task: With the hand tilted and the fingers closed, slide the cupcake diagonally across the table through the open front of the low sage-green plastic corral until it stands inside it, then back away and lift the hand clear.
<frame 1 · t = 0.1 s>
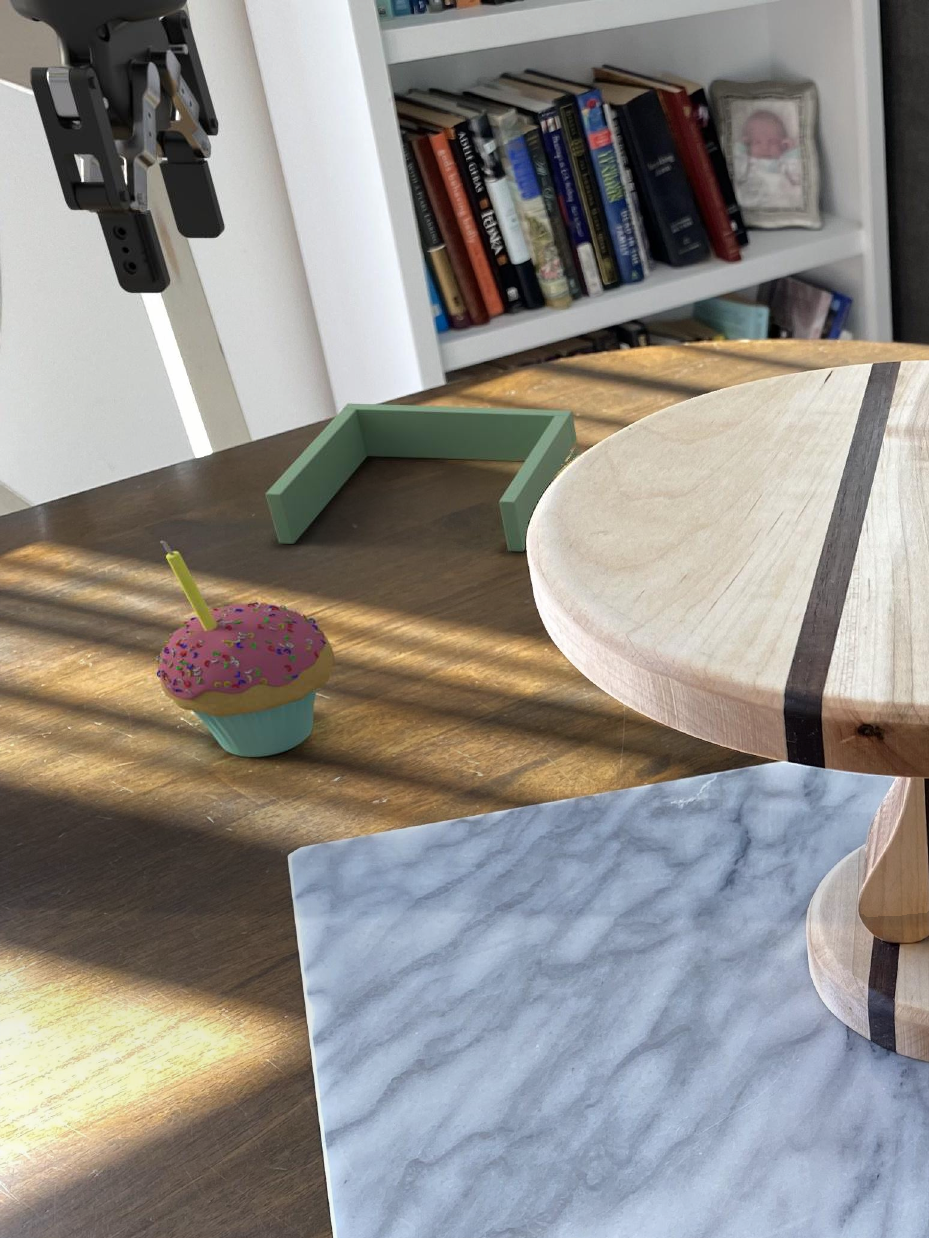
hand: (176, 262, 86), 22 cm above the table, tool pointing down, fingers open, 8 cm apart
corral: (434, 501, 115), on the table
cupcake: (268, 736, 92), on the table
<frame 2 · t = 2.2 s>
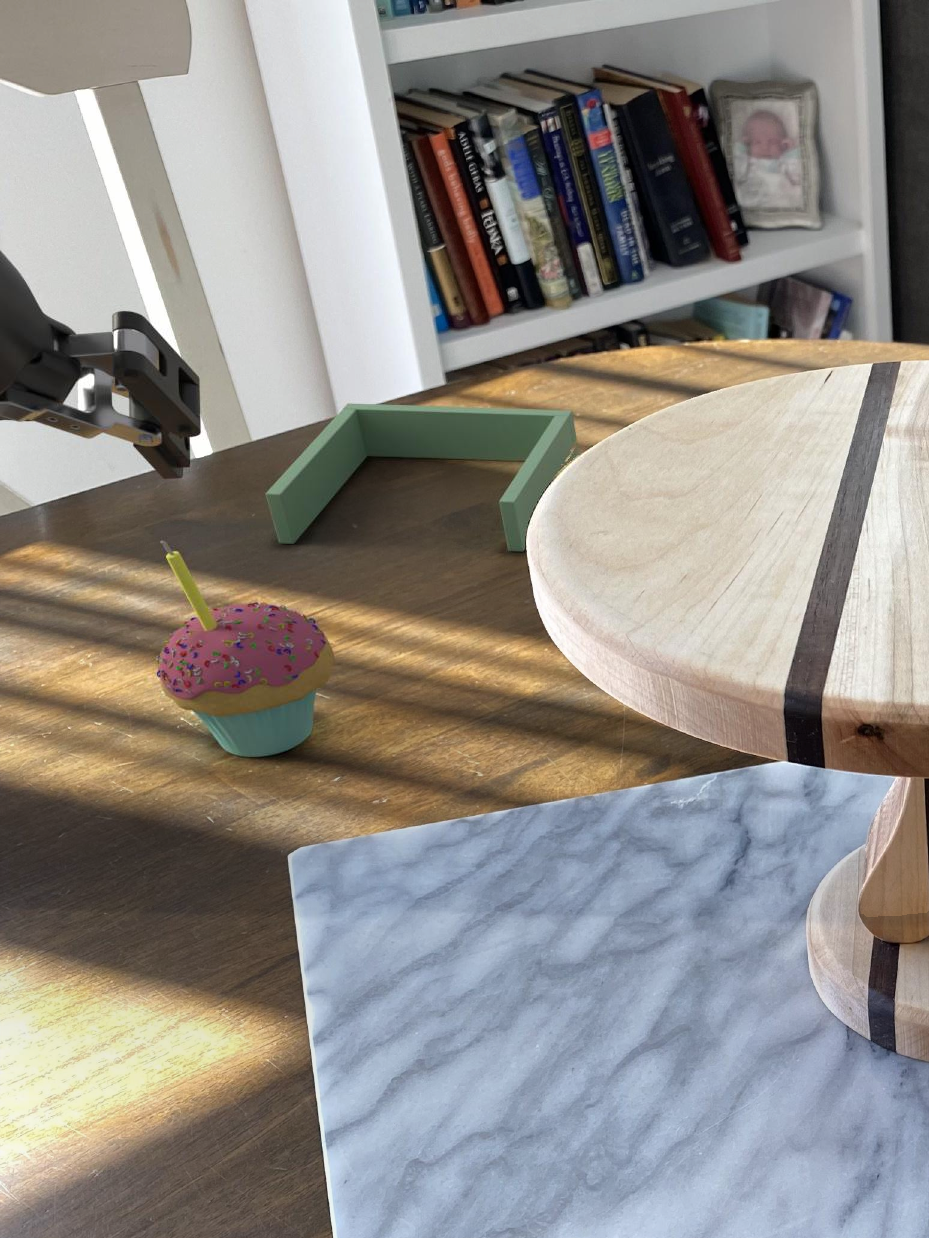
hand: (73, 464, 74), 19 cm above the table, tool tilted 40°, fingers open, 8 cm apart
nothing on the table moved.
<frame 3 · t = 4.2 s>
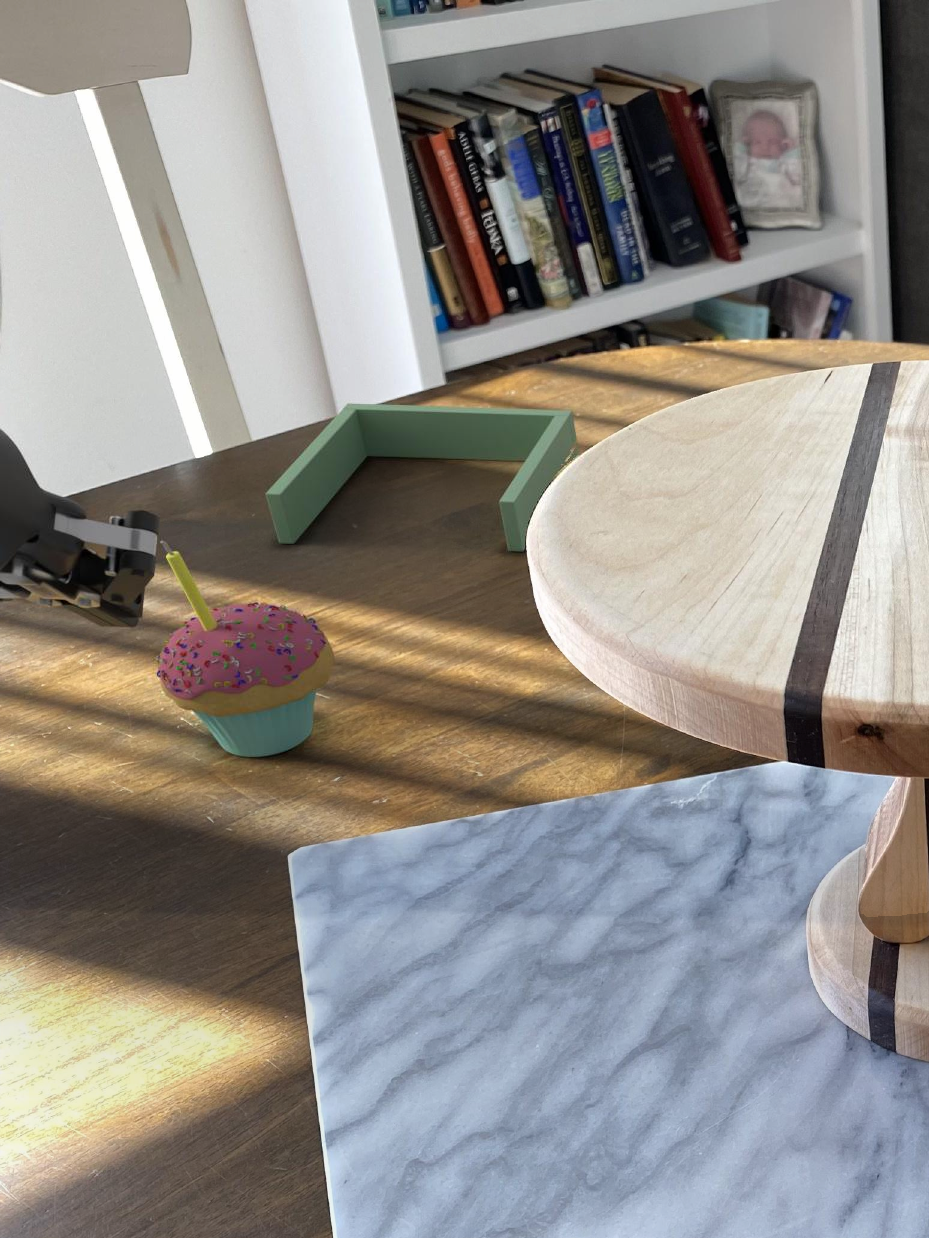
hand: (123, 606, 77), 13 cm above the table, tool tilted 45°, fingers closed
nothing on the table moved.
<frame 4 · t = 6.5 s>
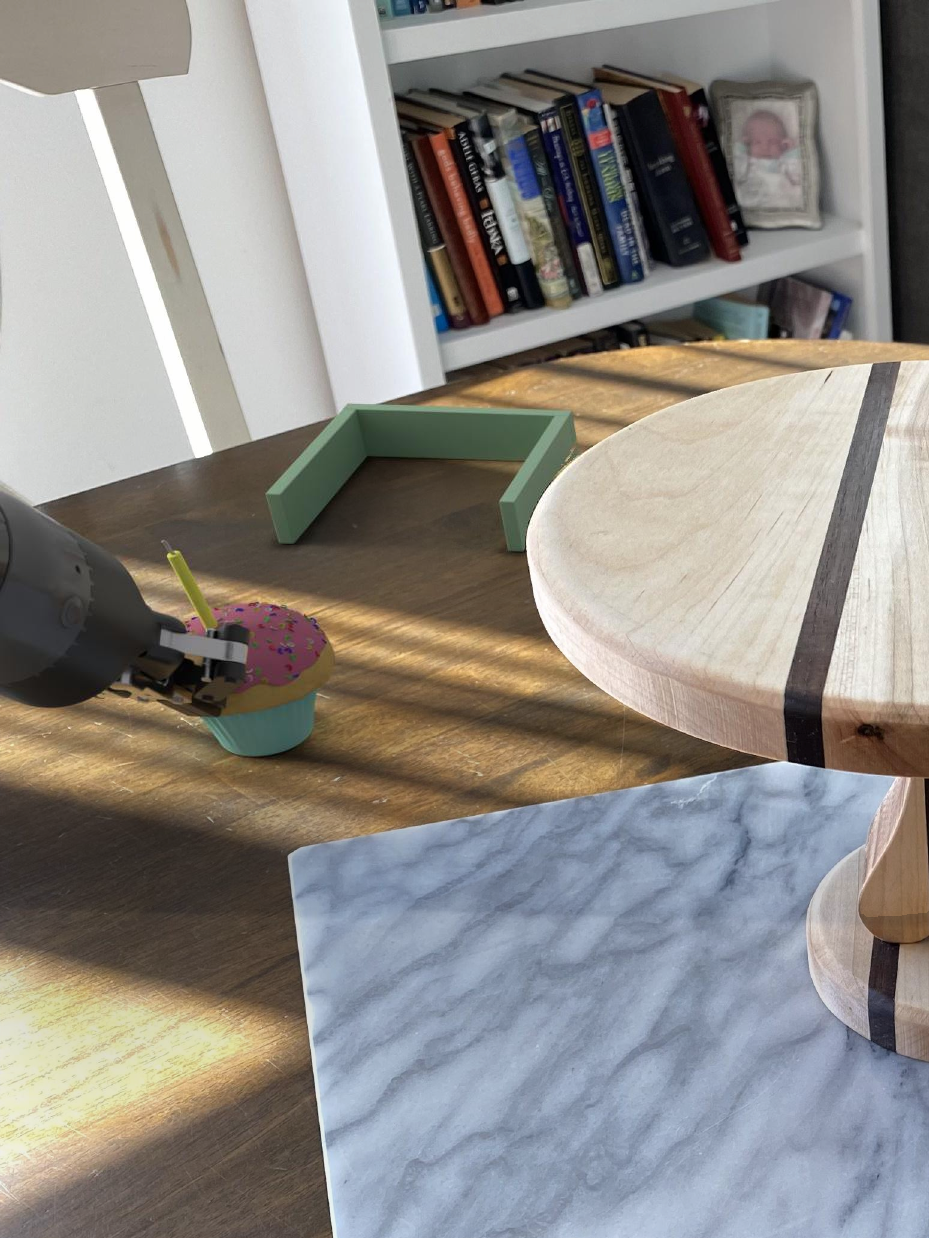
hand: (208, 697, 85), 5 cm above the table, tool tilted 45°, fingers closed
cupcake: (269, 735, 92), on the table, touching gripper
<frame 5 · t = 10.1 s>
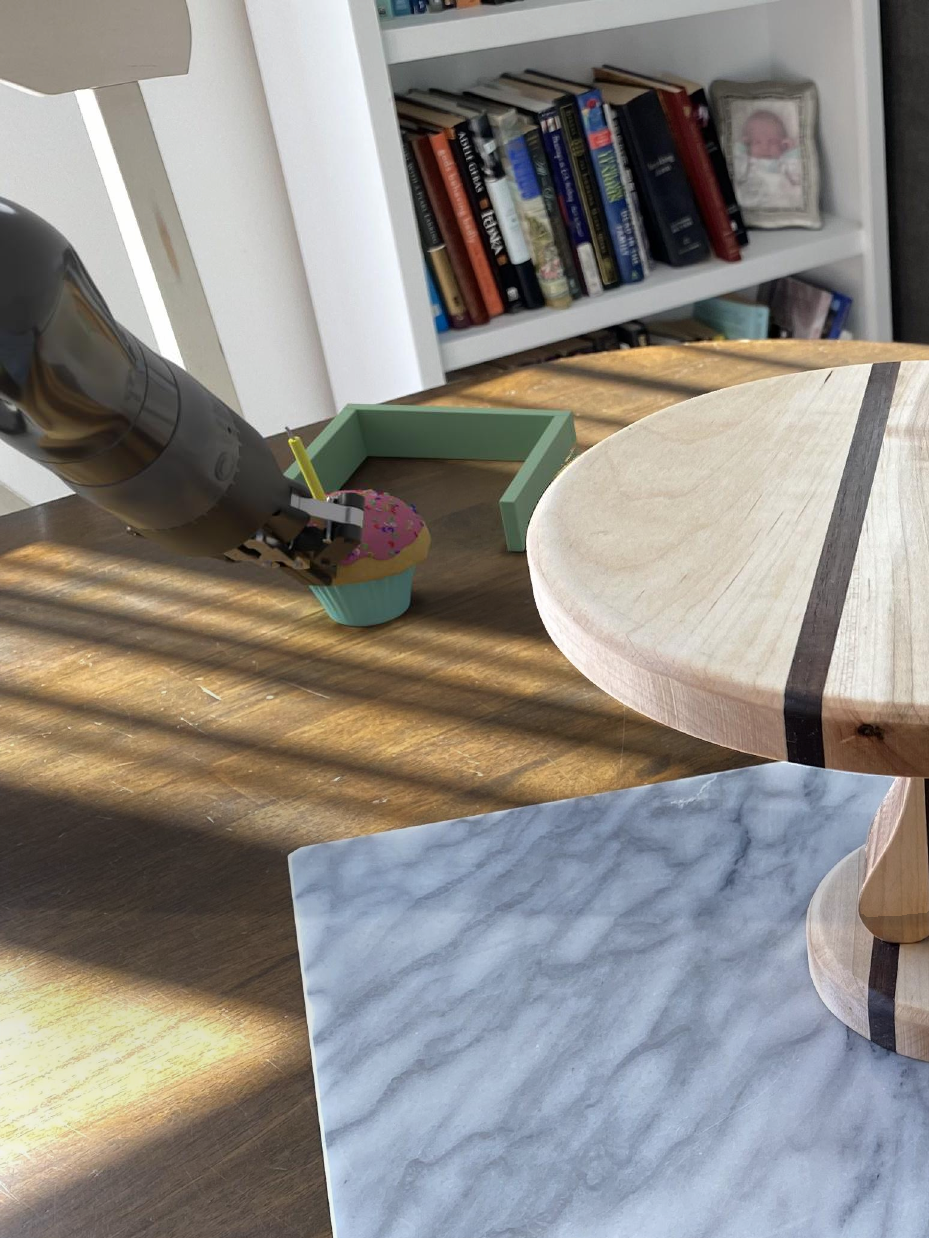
hand: (320, 569, 96), 5 cm above the table, tool tilted 45°, fingers closed
cupcake: (370, 610, 103), on the table, touching gripper
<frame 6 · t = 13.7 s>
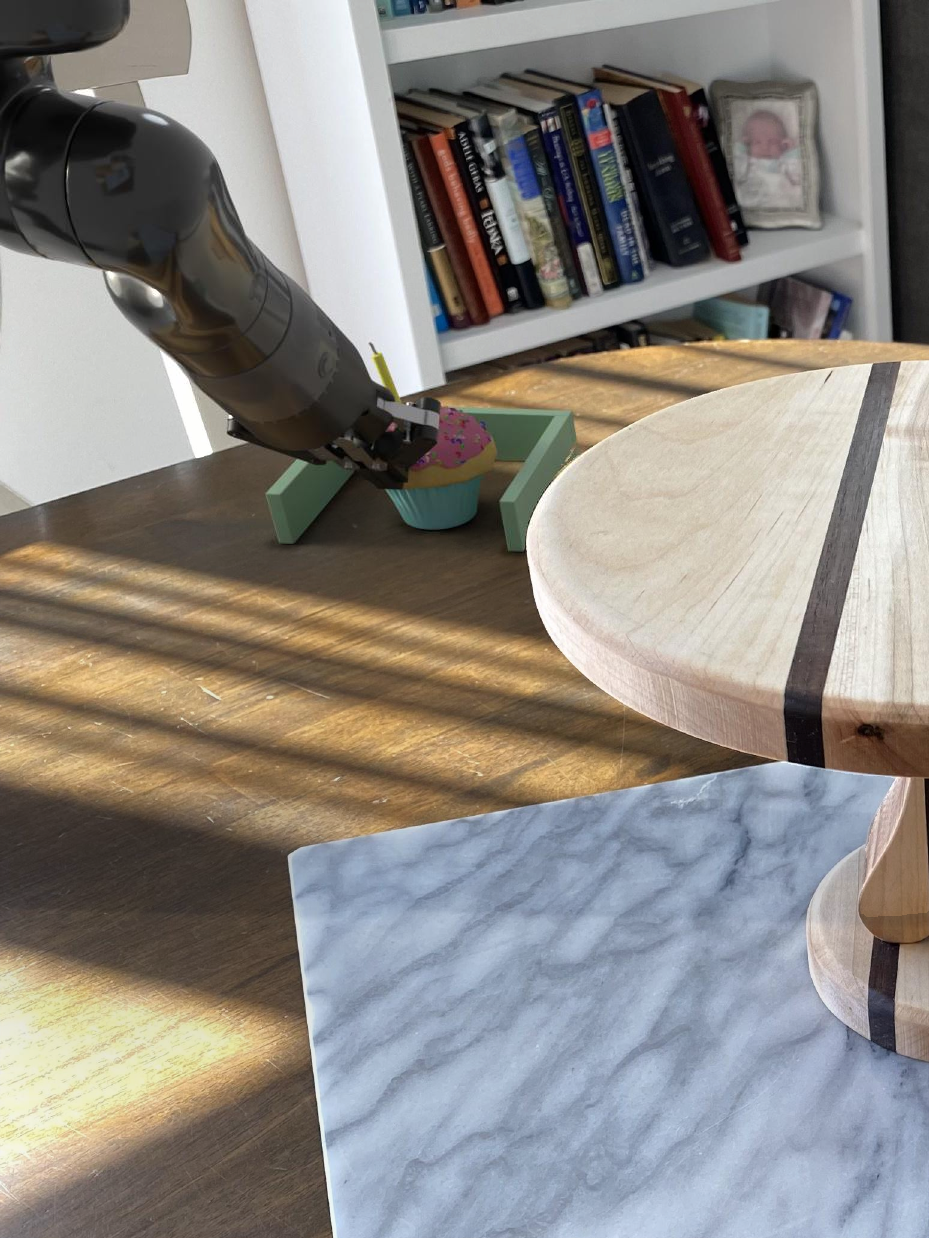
hand: (392, 474, 107), 5 cm above the table, tool tilted 45°, fingers closed
cupcake: (441, 517, 113), on the table, touching gripper
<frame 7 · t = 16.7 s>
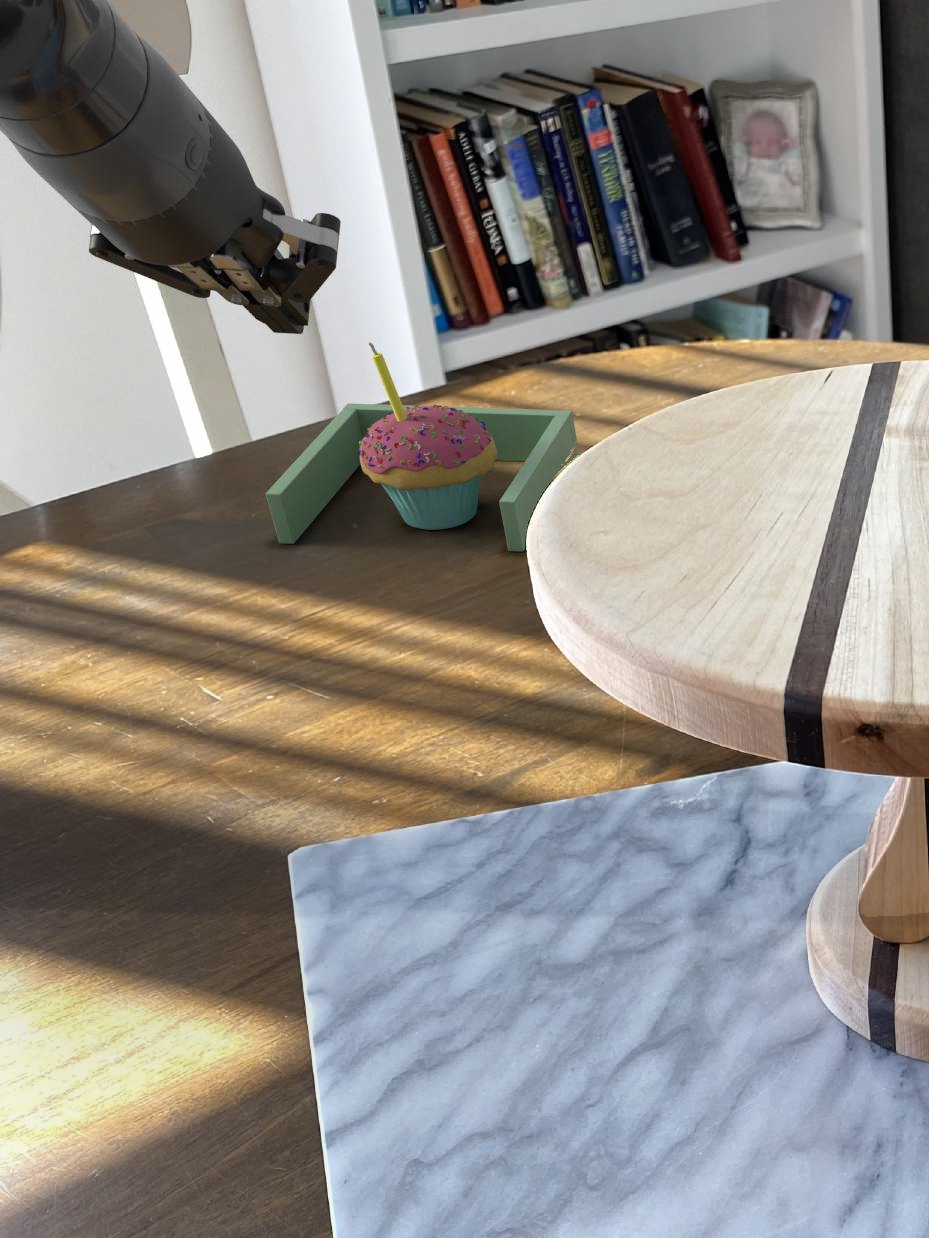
hand: (291, 317, 93), 17 cm above the table, tool tilted 45°, fingers closed
cupcake: (441, 516, 113), on the table
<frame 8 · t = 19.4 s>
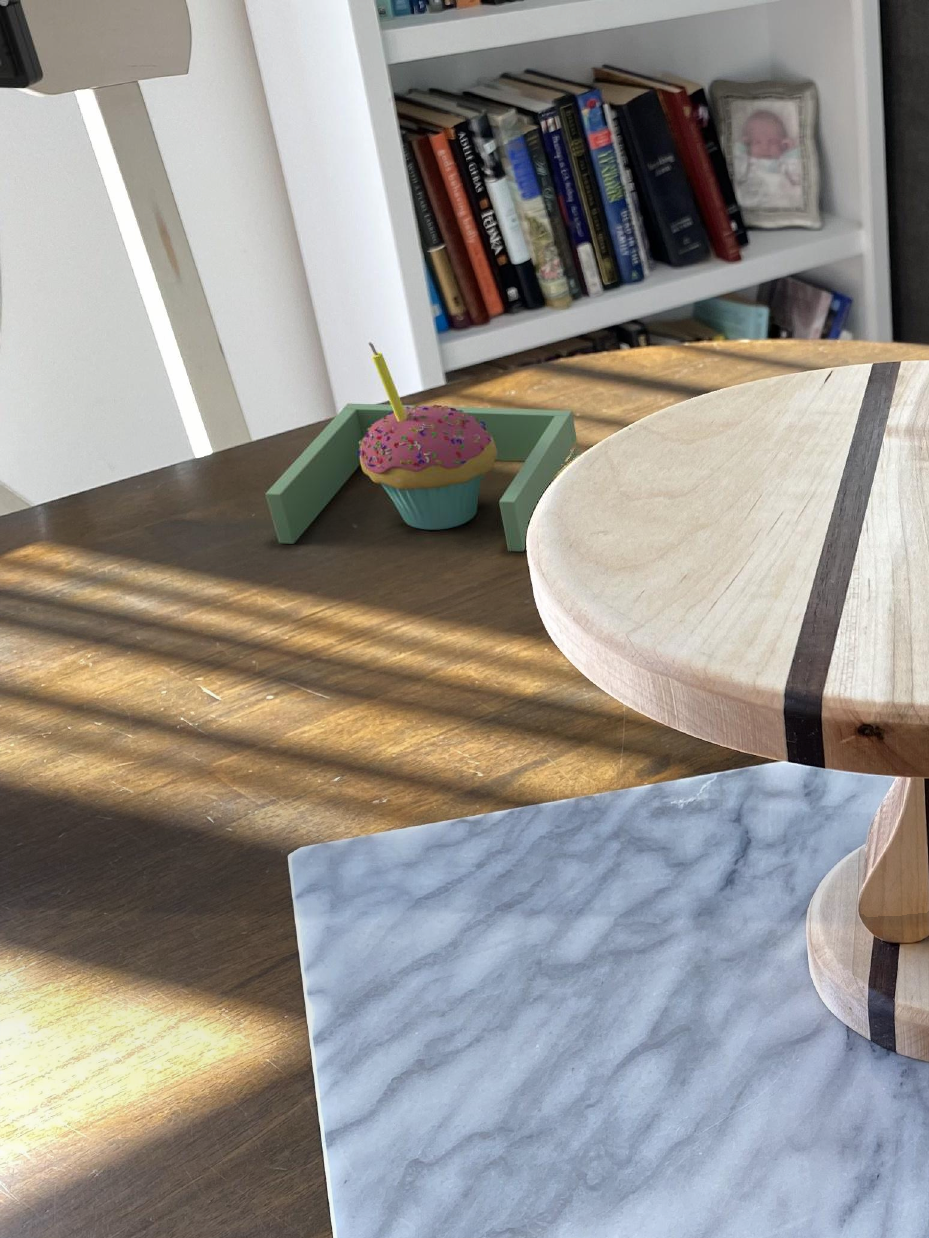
hand: (17, 84, 86), 29 cm above the table, tool pointing down, fingers closed
nothing on the table moved.
at the end: cupcake inside the target area on the corral (2.2 cm from its centre), point 0.0 cm above the corral's base; cupcake tilted 0° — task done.
